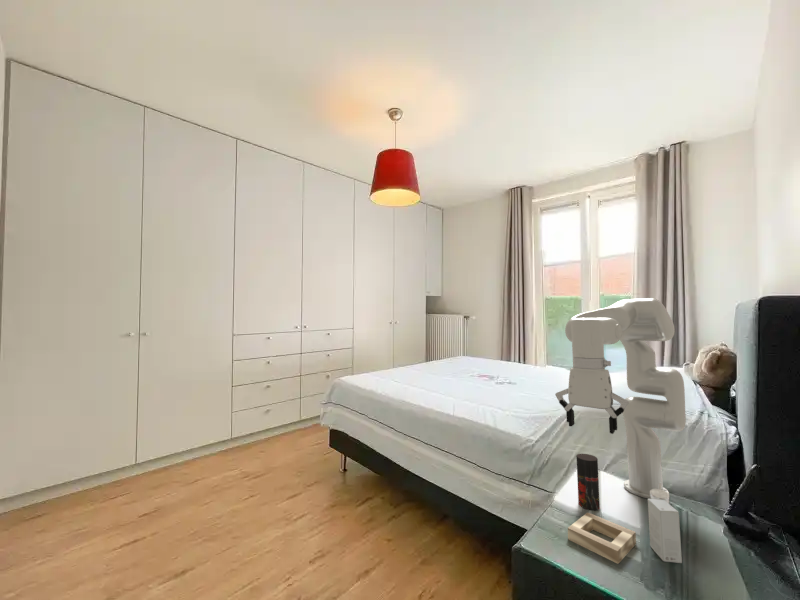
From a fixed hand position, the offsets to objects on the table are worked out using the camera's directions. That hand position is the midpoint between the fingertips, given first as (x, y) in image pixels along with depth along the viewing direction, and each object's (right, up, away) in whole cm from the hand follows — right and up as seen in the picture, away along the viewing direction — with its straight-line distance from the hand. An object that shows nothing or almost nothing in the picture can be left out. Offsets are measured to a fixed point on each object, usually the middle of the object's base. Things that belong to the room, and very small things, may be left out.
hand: (591, 428), depth 91 cm
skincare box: (+15, -30, -6) cm, 34 cm away
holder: (+2, -30, 0) cm, 30 cm away
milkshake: (+25, -30, +8) cm, 40 cm away
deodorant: (+9, -31, +17) cm, 37 cm away
